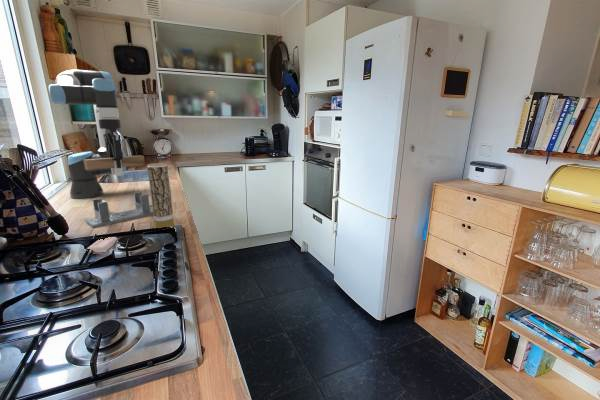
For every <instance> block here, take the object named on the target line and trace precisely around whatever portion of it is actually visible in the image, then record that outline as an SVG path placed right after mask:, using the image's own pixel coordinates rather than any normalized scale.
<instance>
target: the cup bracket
mask: <svg viewBox="0 0 600 400" xmlns="http://www.w3.org/2000/svg"><path fill="white" fill-rule="evenodd" d="M134 198H135V202H134V206H135V209H130V210H125V211H120V212H119V211H118V212H116V213H115V212H114V213H110V210H109V211H108V208H109V204H108V205H107V203H108V201H106V202H102V198H95V199H92V204H93V205H92V206H93V211H94V215H95V217H90V218H85V219H84V220H85V223H86V224H88V225H89V226H90V227H91V228H92V229H93V228H98V227H103V226H107V225H112V224H116V223H121V222H126V221H130V220H135V219H138V218H143V217H144V218H145V217H148V216H152V215H153V207H152V206H151V205H150V200H149V194H143V192H142V191H138V192H137V191H136V192H133V199H134ZM153 216H154V215H153Z"/></svg>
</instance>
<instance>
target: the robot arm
mask: <svg viewBox="0 0 600 400" xmlns="http://www.w3.org/2000/svg"><path fill="white" fill-rule="evenodd" d="M116 88H117V87H116V83H115V81H114V78H113V76H112V74H111V73H110V72H109V71H108V72H107V71H102V70H87V69H86V70H84V69H69V70H65V71H63V72H60V73H59V74H57V75H56V78H55V84H49V85H48V91H49V95H50V100H51V102H52V103H53V104H54V105H55V104H56V105H62V106H63V105H86V106H89V105H90V106H93V107H92V108H93V111H94V117H95V123H96V130H97V136H98V141H99V142H98V143H99V148H98V149H97V153H94V152H93V151H82V152H77V153H73V154H70V155H68V156H67V166H68V169H69V175H70V179H71V180H70V181H71V187H70V192H69V196H70V198H71V199H90V198H94V197H95V196H96V197H100V196H103V195H104V194H103V193H104V189H103V187H102V185H101V184H100V182H99V180H98V176H105V175H113V176H114V175H115V176H116V177H119V176H124V173H125V172H126V170H127V167H122V162H121V160H122V159H123V157H125V156H127V154H126V152H123V149H122V141H121V138H122V136H121V134H119V133H118V131H117V129H121V128H122V127H121V120H120V119H119V118H120V113H119V107H118V101H117V100H118V99H117V95H118V94H117V89H116ZM112 157H114V159H112V160H113V161H114V167H115V168H108V169H98V170H85V167H84V161H83V160H87V159H99V158H112ZM99 195H100V196H99Z"/></svg>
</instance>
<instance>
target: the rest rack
mask: <svg viewBox="0 0 600 400" xmlns="http://www.w3.org/2000/svg"><path fill="white" fill-rule="evenodd" d="M133 200H134V203H135V198H134V197H133ZM102 202H107V201H106V200H104V199H103V200H102ZM107 205H108V206H109V203H108V202H107ZM108 211H109V212H110V208H109V207H108Z"/></svg>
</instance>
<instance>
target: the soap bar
mask: <svg viewBox="0 0 600 400" xmlns="http://www.w3.org/2000/svg"><path fill="white" fill-rule="evenodd" d="M107 237H108V236H107ZM99 239H100V238H99ZM99 239H98V240H96V241H95V242H94V243H92V244H91V245H89V246H88V247H87V248H86V249H91V250H93V251H95V252H104V251H106V250H107V249H109V248H110V247H111V246H112V245H113V244H114V243H115V241H116V240H118V237H116V236H112V237H110V236H109V237H108V238H105V239H104V240H103V239H100V240H99ZM109 250H110V249H109Z"/></svg>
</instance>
